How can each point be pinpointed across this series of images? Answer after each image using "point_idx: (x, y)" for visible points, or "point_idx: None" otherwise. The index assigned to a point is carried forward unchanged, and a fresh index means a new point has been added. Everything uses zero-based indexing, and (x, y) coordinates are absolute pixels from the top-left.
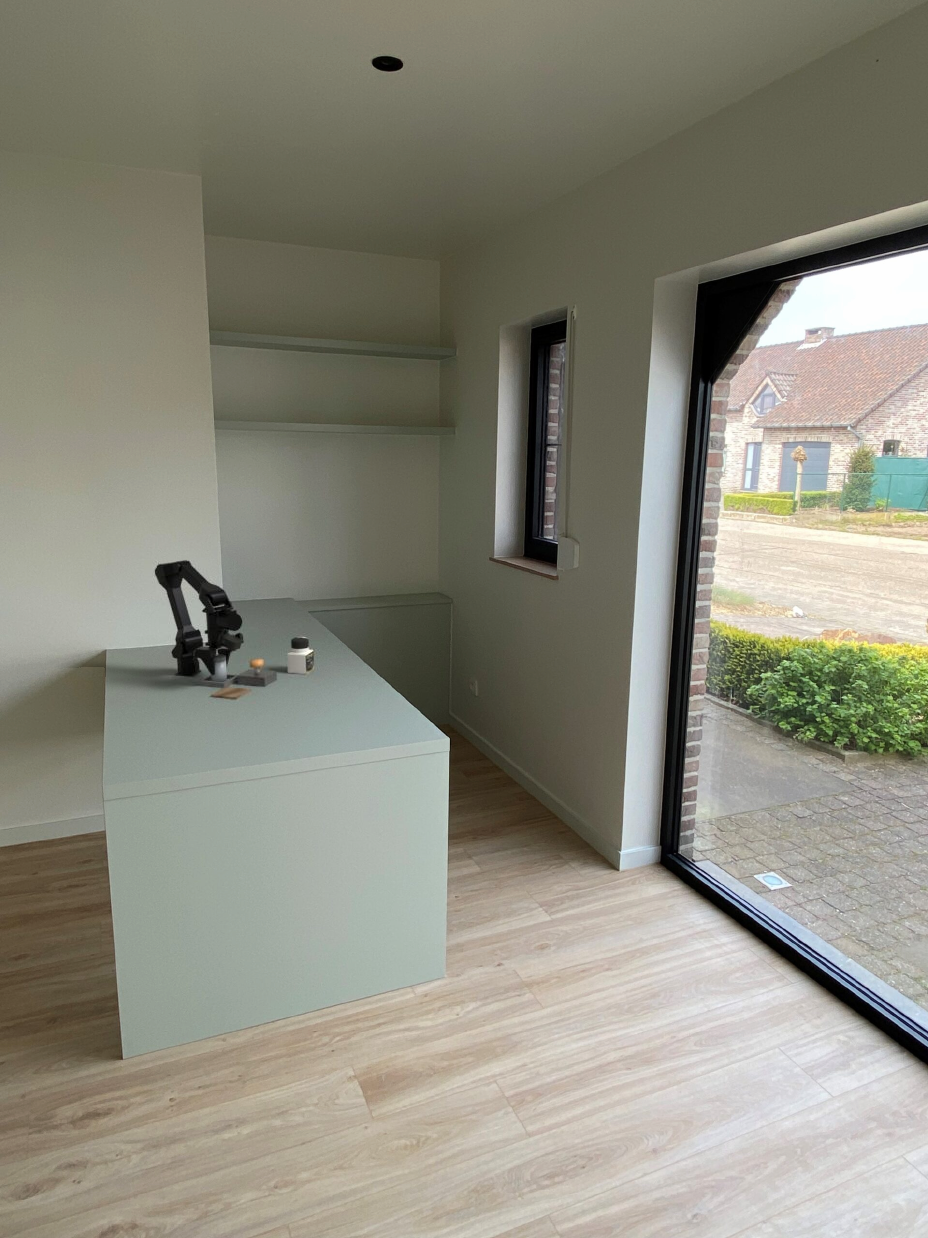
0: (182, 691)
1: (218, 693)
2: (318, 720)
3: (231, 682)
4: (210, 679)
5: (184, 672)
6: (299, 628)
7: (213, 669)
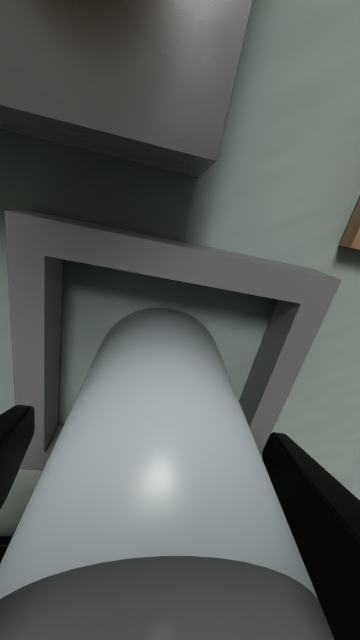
0: (350, 478)
1: None
2: None
3: (206, 248)
4: None
5: None
6: None
7: (356, 499)
